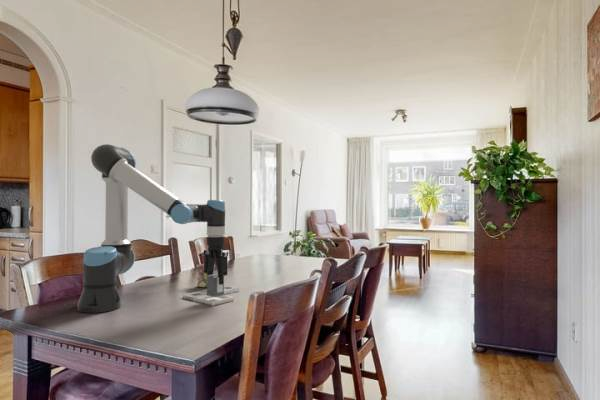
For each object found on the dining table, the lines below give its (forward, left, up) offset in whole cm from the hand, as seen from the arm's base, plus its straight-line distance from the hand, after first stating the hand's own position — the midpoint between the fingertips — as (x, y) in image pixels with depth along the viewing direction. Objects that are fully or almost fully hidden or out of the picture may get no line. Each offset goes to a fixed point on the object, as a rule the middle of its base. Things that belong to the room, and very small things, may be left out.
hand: (215, 290), depth 170 cm
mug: (+15, +28, -5) cm, 32 cm away
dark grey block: (0, 0, -2) cm, 2 cm away
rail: (+7, +11, -4) cm, 13 cm away
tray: (0, 0, -4) cm, 4 cm away
